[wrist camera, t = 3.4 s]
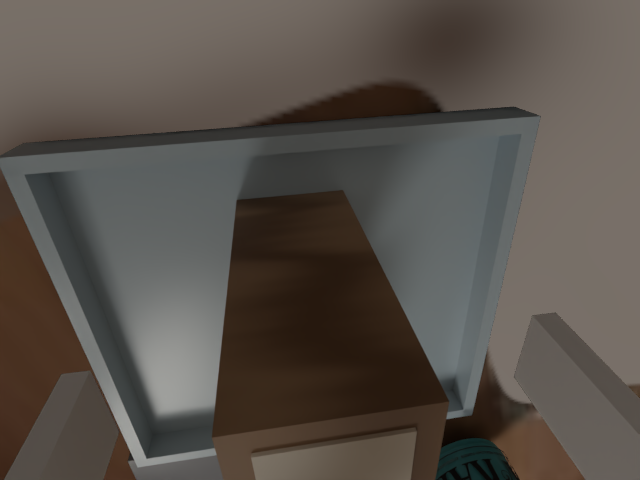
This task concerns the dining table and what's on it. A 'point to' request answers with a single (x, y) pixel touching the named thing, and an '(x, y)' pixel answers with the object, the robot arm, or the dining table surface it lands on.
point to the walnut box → (319, 354)
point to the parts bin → (217, 233)
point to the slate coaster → (179, 470)
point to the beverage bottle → (473, 461)
